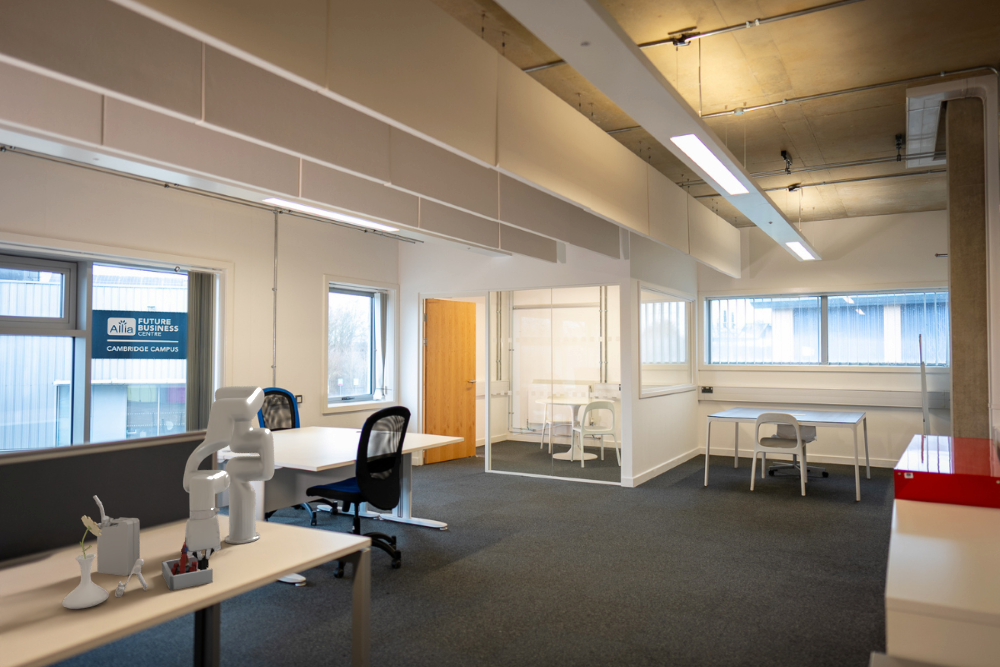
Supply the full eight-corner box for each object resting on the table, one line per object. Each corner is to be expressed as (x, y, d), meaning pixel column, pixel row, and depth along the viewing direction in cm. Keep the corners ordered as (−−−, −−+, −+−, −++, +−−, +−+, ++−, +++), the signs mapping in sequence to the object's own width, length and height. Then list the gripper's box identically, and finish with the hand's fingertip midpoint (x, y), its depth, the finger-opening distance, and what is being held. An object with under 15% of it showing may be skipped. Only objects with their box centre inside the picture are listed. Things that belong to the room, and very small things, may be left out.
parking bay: (162, 573, 215) (162, 561, 215) (202, 566, 221) (202, 554, 221) (170, 590, 200) (170, 577, 200) (212, 582, 206) (212, 569, 207)
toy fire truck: (169, 585, 204) (169, 551, 204) (175, 572, 216) (175, 540, 216) (193, 582, 206) (193, 549, 206) (198, 570, 218) (198, 538, 218)
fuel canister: (90, 572, 218) (90, 496, 218) (103, 567, 222) (103, 492, 223) (127, 576, 213) (126, 498, 214) (139, 571, 218) (139, 495, 218)
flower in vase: (109, 606, 188) (109, 518, 188) (61, 616, 182) (61, 524, 182) (107, 592, 199) (107, 509, 199) (62, 601, 193) (62, 515, 193)
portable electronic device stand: (119, 588, 203) (118, 560, 203) (148, 584, 206) (147, 557, 206) (115, 597, 195) (115, 569, 195) (145, 593, 198) (145, 565, 198)
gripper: (224, 507, 221) (225, 562, 221) (175, 515, 212) (175, 572, 212) (229, 512, 215) (230, 569, 215) (179, 520, 206) (179, 579, 206)
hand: (203, 570), depth 213 cm, fingers closed
